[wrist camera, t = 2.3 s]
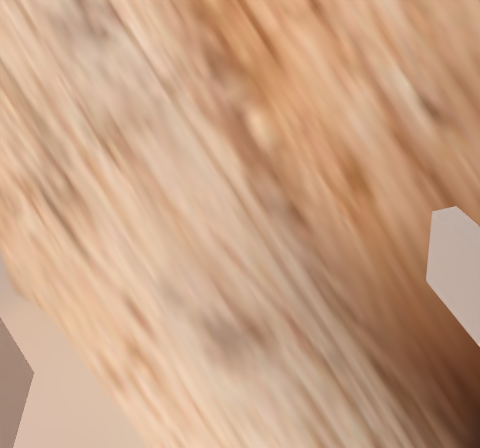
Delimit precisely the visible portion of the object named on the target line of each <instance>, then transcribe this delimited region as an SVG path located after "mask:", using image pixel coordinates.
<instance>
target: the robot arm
mask: <svg viewBox="0 0 480 448" xmlns="http://www.w3.org/2000/svg"><path fill="white" fill-rule="evenodd" d="M426 282H427V283H428V284H429V285H430V287H431V288H432V289H433V290H434V292H435V293H436V294H437V295H438V296H439V298H440V299H441V300H442V301H443V303H444V304H445V305H446V306H447V307H448V309H449V310H450V311H451V312H452V314H453V315H454V316H455V317H456V319H457V320H458V321H459V322H460V323H461V325H462V326H463V327H464V328H465V330H466V331H467V332H468V333H469V334H470V336H471V337H472V338H473V339H474V341H475V342H476V343H477V344H478V346H479V347H480V226H479V225H478V224H477V223H475V222H474V221H473V220H472V219H471V218H470V217H468V216H467V215H466V214H465V213H464V212H463V211H461V210H460V209H459V208H458V207H457V206H455V207H450V208H446V209H441V210H437V211H432V219H431V230H430V241H429V252H428V263H427V274H426ZM33 375H34V372H33V370H32V368H31V367H30V365H29V363H28V362H27V360H26V359H25V357H24V355H23V354H22V352H21V350H20V349H19V347H18V346H17V344H16V342H15V341H14V339H13V338H12V336H11V334H10V333H9V331H8V329H7V328H6V326H5V324H4V323H3V321H2V320H1V318H0V448H13V446H14V442H15V439H16V435H17V431H18V428H19V424H20V421H21V417H22V414H23V410H24V406H25V403H26V399H27V396H28V392H29V388H30V385H31V382H32V378H33Z"/></svg>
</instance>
